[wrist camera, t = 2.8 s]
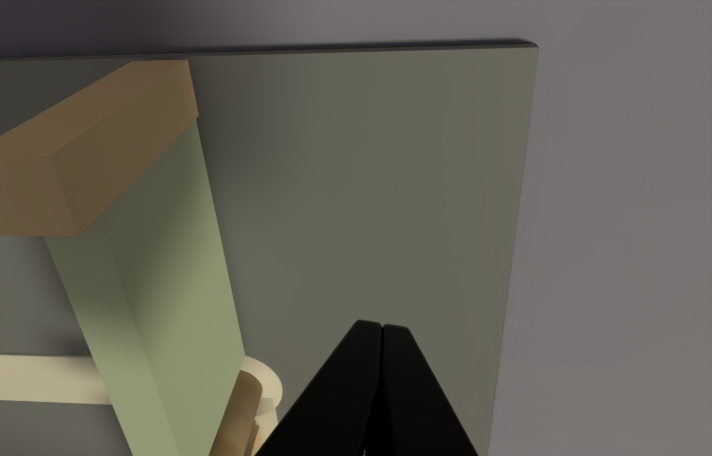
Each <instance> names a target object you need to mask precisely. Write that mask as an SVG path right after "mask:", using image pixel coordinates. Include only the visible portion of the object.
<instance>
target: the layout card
mask: <svg viewBox="0 0 712 456" xmlns="http://www.w3.org/2000/svg"><path fill="white" fill-rule="evenodd" d="M538 51H539V47H538V46H537V45H536V43H535V44H499V45H462V46H425V47H388V48H351V49H315V50H278V51H241V52H204V53H167V54H131V55H94V56H57V57H20V58H0V136H1V135H3V134H5V133H6V132H8V131H10V130H12V129H13V128H15V127H17V126H19V125H20V124H22V123H24V122H26V121H28V120H29V119H31V118H33V117H35V116H36V115H38V114H40V113H42V112H43V111H45V110H47V109H49V108H50V107H52V106H54V105H56V104H57V103H59V102H61V101H63V100H65V99H66V98H68V97H70V96H72V95H73V94H75V93H77V92H79V91H80V90H82V89H84V88H86V87H87V86H89V85H91V84H93V83H94V82H96V81H98V80H100V79H102V78H103V77H105V76H107V75H109V74H110V73H112V72H114V71H116V70H117V69H119V68H121V67H123V66H124V65H126V64H128V63H130V62H131V61H153V60H188V64H189V69H190V74H191V79H192V84H193V89H194V94H195V98H196V103H197V108H198V113H199V116H198V117H197V118H196V122H197V127H198V131H199V136H200V141H201V146H202V151H203V155H204V160H205V165H206V170H207V175H208V179H209V184H210V189H211V194H212V199H213V203H214V208H215V213H216V218H217V223H218V227H219V232H220V237H221V242H222V247H223V251H224V256H225V261H226V266H227V271H228V276H229V280H230V285H231V290H232V295H233V300H234V304H235V309H236V314H237V319H238V324H239V328H240V333H241V338H242V343H243V348H244V352H245V358H244V360H243V363H242V366H241V368H240V370H243V371H246V372H248V373H250V374H252V375H253V376H255V377H256V378H257V379H258V380H259V382H260V383H261V385H262V388H263V393H262V396H261V399H260V403H259V406H258V409H257V412H256V416H255V419H254V422H253V425H260V429H261V434H262V439H263V443H264V442H265V440H266V439H267V438H268V436H269V435H270V434H271V432H272V431H273V430H274V429H275V427H276V426H277V425H278V423H279V422H280V421H281V419H282V418H283V417H284V415H285V414H286V413H287V411H288V410H289V409H290V407H291V406H292V405H293V403H294V402H295V401H296V399H297V398H298V397H299V395H300V394H301V393H302V391H303V390H304V389H305V387H306V386H307V385H308V383H309V382H310V381H311V380H312V378H313V377H314V376H315V374H316V373H317V372H318V370H319V369H320V368H321V366H322V365H323V364H324V362H325V361H326V360H327V358H328V357H329V356H330V354H331V353H332V352H333V350H334V349H335V348H336V346H337V345H338V344H339V342H340V341H341V340H342V338H343V337H344V336H345V335H346V333H347V332H348V331H349V329H350V328H351V327H352V325H353V324H354V323H355V322H356V321H357V320H359V319H362V320H368V321H374V322H379V323H380V324H381V325H382V327H383V325H384V324H393V325H400V326H405V327H407V328H409V330H410V331H411V333H412V335H413V337H414V338H415V340H416V342H417V344H418V346H419V348H420V349H421V351H422V353H423V355H424V357H425V358H426V360H427V362H428V364H429V366H430V368H431V369H432V371H433V373H434V375H435V377H436V379H437V380H438V382H439V384H440V386H441V388H442V389H443V391H444V393H445V395H446V397H447V399H448V400H449V402H450V404H451V406H452V408H453V409H454V411H455V413H456V415H457V417H458V419H459V420H460V422H461V424H462V426H463V428H464V430H465V431H466V433H467V435H468V437H469V439H470V440H471V442H472V444H473V446H474V448H475V450H476V451H477V453H478V455H479V456H488V448H489V440H490V433H491V425H492V417H493V409H494V401H495V393H496V385H497V377H498V369H499V361H500V353H501V345H502V337H503V329H504V321H505V313H506V305H507V297H508V290H509V282H510V274H511V266H512V258H513V250H514V242H515V234H516V226H517V218H518V210H519V202H520V194H521V186H522V178H523V170H524V162H525V154H526V146H527V139H528V131H529V123H530V115H531V107H532V99H533V91H534V83H535V75H536V67H537V59H538ZM0 456H133V454H132V452H131V450H130V447H129V445H128V442H127V440H126V437H125V435H124V432H123V430H122V428H121V425H120V423H119V420H118V418H117V415H116V413H115V410H114V408H113V406H112V403H111V401H110V398H109V396H108V393H107V391H106V388H105V386H104V383H103V381H102V379H101V376H100V374H99V371H98V369H97V366H96V364H95V361H94V359H93V357H92V354H91V352H90V349H89V347H88V344H87V342H86V339H85V337H84V335H83V332H82V330H81V327H80V325H79V322H78V320H77V317H76V315H75V313H74V310H73V308H72V305H71V303H70V300H69V298H68V295H67V293H66V291H65V288H64V286H63V283H62V281H61V278H60V276H59V273H58V271H57V268H56V266H55V264H54V261H53V259H52V256H51V254H50V251H49V249H48V246H47V244H46V242H45V239H44V237H43V236H0ZM363 456H364V455H363Z"/></svg>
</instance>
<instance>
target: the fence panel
mask: <svg viewBox="0 0 712 456" xmlns="http://www.w3.org/2000/svg"><path fill="white" fill-rule="evenodd" d="M198 116H199V113H198V108H197V103H196V98H195V94H194V89H193V84H192V79H191V74H190V69H189V64H188V60H153V61H131V62H130V63H128V64H126V65H124V66H123V67H121V68H119V69H117V70H116V71H114V72H112V73H110V74H109V75H107V76H105V77H103V78H102V79H100V80H98V81H96V82H94V83H93V84H91V85H89V86H87V87H86V88H84V89H82V90H80V91H79V92H77V93H75V94H73V95H72V96H70V97H68V98H66V99H65V100H63V101H61V102H59V103H57V104H56V105H54V106H52V107H50V108H49V109H47V110H45V111H43V112H42V113H40V114H38V115H36V116H35V117H33V118H31V119H29V120H28V121H26V122H24V123H22V124H20V125H19V126H17V127H15V128H13V129H12V130H10V131H8V132H6V133H5V134H3V135H1V136H0V236H43V237H44V239H45V242H46V244H47V246H48V249H49V251H50V254H51V256H52V259H53V261H54V264H55V266H56V268H57V271H58V273H59V276H60V278H61V281H62V283H63V286H64V288H65V291H66V293H67V295H68V298H69V300H70V303H71V305H72V308H73V310H74V313H75V315H76V317H77V320H78V322H79V325H80V327H81V330H82V332H83V335H84V337H85V339H86V342H87V344H88V347H89V349H90V352H91V354H92V357H93V359H94V361H95V364H96V366H97V369H98V371H99V374H100V376H101V379H102V381H103V383H104V386H105V388H106V391H107V393H108V396H109V398H110V401H111V403H112V406H113V408H114V410H115V413H116V415H117V418H118V420H119V423H120V425H121V428H122V430H123V432H124V435H125V437H126V440H127V442H128V445H129V447H130V450H131V452H132V454H133V456H208V455H209V453H210V450H211V447H212V445H213V442H214V439H215V436H216V434H217V431H218V428H219V426H220V423H221V420H222V417H223V415H224V412H225V409H226V407H227V404H228V401H229V398H230V396H231V393H232V390H233V387H234V385H235V382H236V379H237V377H238V374H239V371H240V368H241V366H242V363H243V360H244V358H245V352H244V348H243V343H242V338H241V333H240V328H239V324H238V319H237V314H236V309H235V304H234V300H233V295H232V290H231V285H230V280H229V276H228V271H227V266H226V261H225V256H224V251H223V247H222V242H221V237H220V232H219V227H218V223H217V218H216V213H215V208H214V203H213V199H212V194H211V189H210V184H209V179H208V175H207V170H206V165H205V160H204V155H203V151H202V146H201V141H200V136H199V131H198V127H197V122H196V118H197V117H198Z"/></svg>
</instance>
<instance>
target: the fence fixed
mask: <svg viewBox="0 0 712 456" xmlns="http://www.w3.org/2000/svg"><path fill="white" fill-rule="evenodd" d="M262 393H263V388H262V385H261V383H260V382H259V380H258V379H257V378H256V377H255V376H253V375H252V374H250V373H248V372H246V371H243V370H240V371H239V374H238V377H237V379H236V382H235V385H234V387H233V390H232V393H231V396H230V398H229V401H228V404H227V407H226V409H225V412H224V415H223V417H222V420H221V423H220V426H219V428H218V431H217V434H216V436H215V439H214V442H213V445H212V447H211V450H210V453H209V455H208V456H254V455H255V454H256V452H257V451H258V450H259V448H260V447H261V446H262V444H263V439H262V434H261V429H260V425H253V422H254V419H255V416H256V412H257V409H258V406H259V403H260V399H261V396H262Z"/></svg>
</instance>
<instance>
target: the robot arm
mask: <svg viewBox="0 0 712 456" xmlns="http://www.w3.org/2000/svg"><path fill="white" fill-rule="evenodd" d="M363 455H364V456H479V455H478V453H477V451H476V450H475V448H474V446H473V444H472V442H471V440H470V439H469V437H468V435H467V433H466V431H465V430H464V428H463V426H462V424H461V422H460V420H459V419H458V417H457V415H456V413H455V411H454V409H453V408H452V406H451V404H450V402H449V400H448V399H447V397H446V395H445V393H444V391H443V389H442V388H441V386H440V384H439V382H438V380H437V379H436V377H435V375H434V373H433V371H432V369H431V368H430V366H429V364H428V362H427V360H426V358H425V357H424V355H423V353H422V351H421V349H420V348H419V346H418V344H417V342H416V340H415V338H414V337H413V335H412V333H411V331H410V330H409V328H407V327H405V326H400V325H393V324H384V325H383V327H382V325H381V324H380V323H379V322H374V321H368V320H362V319H359V320H357V321H356V322H355V323H354V324H353V325H352V327H351V328H350V329H349V331H348V332H347V333H346V335H345V336H344V337H343V338H342V340H341V341H340V342H339V344H338V345H337V346H336V348H335V349H334V350H333V352H332V353H331V354H330V356H329V357H328V358H327V360H326V361H325V362H324V364H323V365H322V366H321V368H320V369H319V370H318V372H317V373H316V374H315V376H314V377H313V378H312V380H311V381H310V382H309V383H308V385H307V386H306V387H305V389H304V390H303V391H302V393H301V394H300V395H299V397H298V398H297V399H296V401H295V402H294V403H293V405H292V406H291V407H290V409H289V410H288V411H287V413H286V414H285V415H284V417H283V418H282V419H281V421H280V422H279V423H278V425H277V426H276V427H275V429H274V430H273V431H272V432H271V434H270V435H269V436H268V438H267V439H266V440H265V442H264V443H263V444H262V446H261V447H260V448H259V450H258V451H257V452H256V454H255V455H254V456H363Z"/></svg>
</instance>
